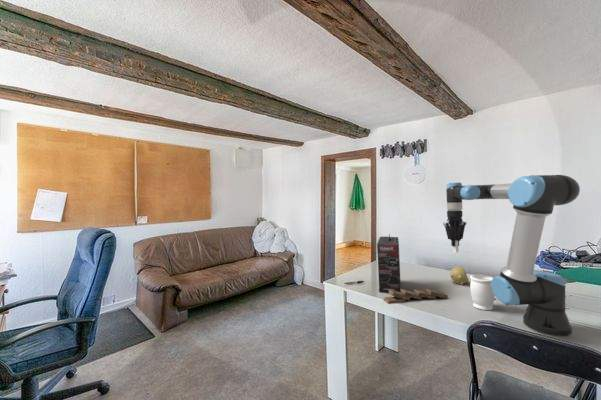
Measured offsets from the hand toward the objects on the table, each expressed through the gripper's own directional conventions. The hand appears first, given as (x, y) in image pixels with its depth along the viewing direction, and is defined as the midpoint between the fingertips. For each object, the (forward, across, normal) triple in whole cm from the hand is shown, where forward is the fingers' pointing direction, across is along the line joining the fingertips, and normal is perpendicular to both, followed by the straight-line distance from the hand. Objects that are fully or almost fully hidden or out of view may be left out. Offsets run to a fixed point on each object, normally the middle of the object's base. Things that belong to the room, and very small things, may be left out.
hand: (455, 251), depth 151 cm
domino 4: (+24, +14, 0) cm, 28 cm away
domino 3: (+24, +22, 0) cm, 32 cm away
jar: (+25, -1, +17) cm, 30 cm away
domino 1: (+23, +30, 0) cm, 37 cm away
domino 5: (+24, +8, +1) cm, 25 cm away
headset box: (+25, +29, -22) cm, 44 cm away
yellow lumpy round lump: (+25, -16, -17) cm, 34 cm away
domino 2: (+24, +32, 0) cm, 40 cm away
